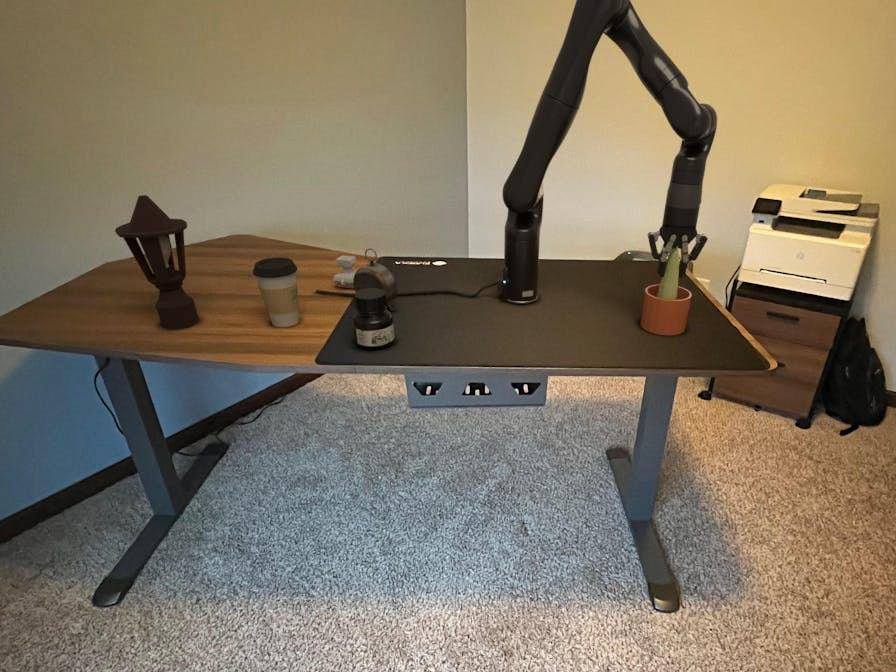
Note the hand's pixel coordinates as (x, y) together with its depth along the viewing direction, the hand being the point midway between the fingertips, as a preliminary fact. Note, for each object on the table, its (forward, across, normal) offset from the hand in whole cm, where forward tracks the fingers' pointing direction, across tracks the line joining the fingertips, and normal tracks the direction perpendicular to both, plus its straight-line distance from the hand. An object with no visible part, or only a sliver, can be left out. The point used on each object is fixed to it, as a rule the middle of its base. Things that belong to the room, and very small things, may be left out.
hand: (670, 276), depth 135 cm
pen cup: (+13, 0, 0) cm, 13 cm away
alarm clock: (+13, +73, -2) cm, 75 cm away
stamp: (+13, +85, -18) cm, 88 cm away
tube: (+12, 0, 0) cm, 12 cm away
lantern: (+13, +118, +10) cm, 120 cm away
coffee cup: (+13, +93, +8) cm, 95 cm away
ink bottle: (+13, +68, +16) cm, 72 cm away
